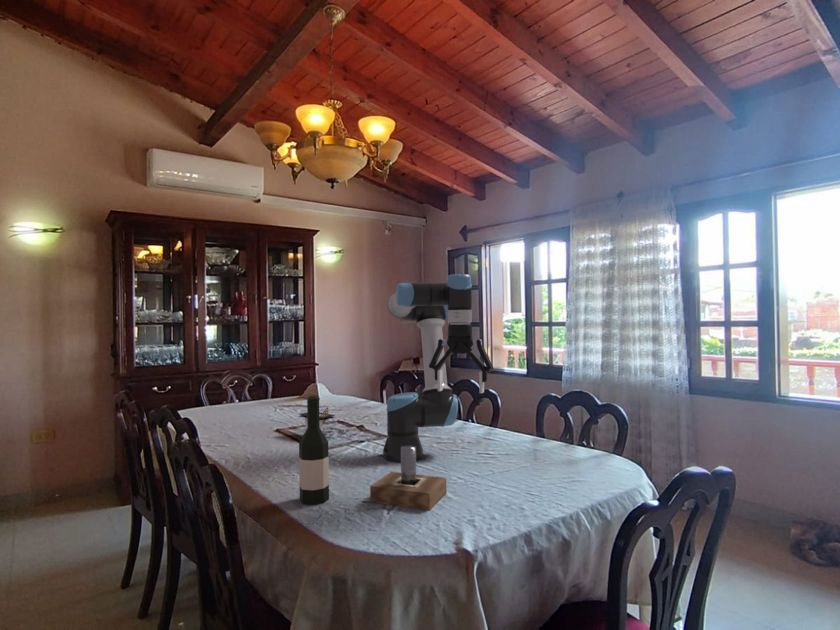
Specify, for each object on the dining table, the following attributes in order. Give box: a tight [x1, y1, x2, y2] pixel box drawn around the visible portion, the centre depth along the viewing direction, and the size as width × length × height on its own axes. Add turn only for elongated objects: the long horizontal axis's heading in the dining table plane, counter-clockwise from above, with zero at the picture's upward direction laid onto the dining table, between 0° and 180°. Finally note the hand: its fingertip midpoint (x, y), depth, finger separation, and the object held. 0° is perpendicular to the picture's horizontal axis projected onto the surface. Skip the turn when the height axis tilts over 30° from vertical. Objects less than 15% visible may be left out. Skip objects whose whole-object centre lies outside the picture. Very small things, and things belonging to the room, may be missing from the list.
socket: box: [369, 471, 447, 511], centre depth 148 cm, size 18×14×5 cm
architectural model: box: [298, 406, 336, 432], centre depth 223 cm, size 35×28×14 cm
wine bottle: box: [298, 394, 330, 506], centre depth 147 cm, size 8×8×30 cm
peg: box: [400, 445, 417, 485], centre depth 148 cm, size 4×4×14 cm
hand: (460, 391), depth 159 cm, fingers open, 13 cm apart
